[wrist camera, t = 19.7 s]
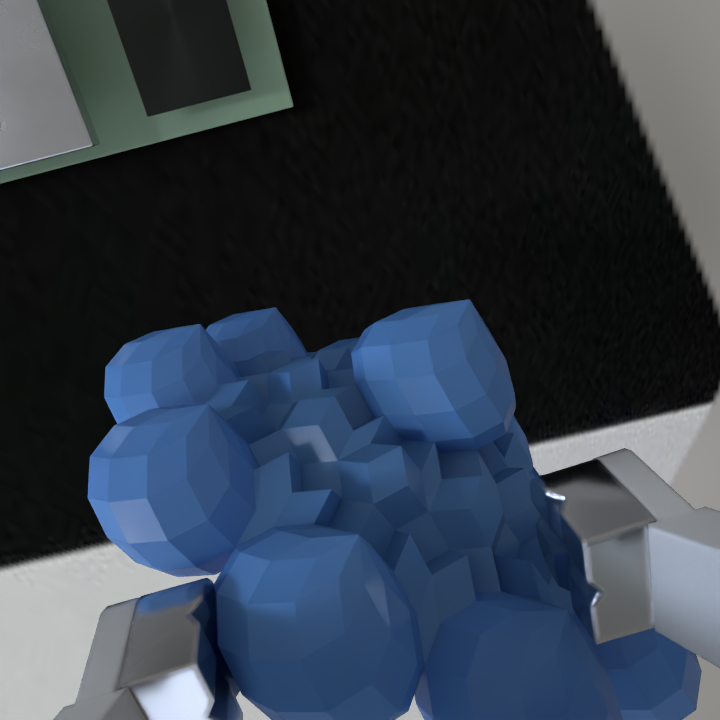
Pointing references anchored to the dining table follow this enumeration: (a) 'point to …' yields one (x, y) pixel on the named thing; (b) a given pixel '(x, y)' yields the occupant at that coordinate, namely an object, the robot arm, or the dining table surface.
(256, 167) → the dining table surface
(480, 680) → the grapes
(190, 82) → the scale pan
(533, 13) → the dining table surface
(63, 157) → the scale
